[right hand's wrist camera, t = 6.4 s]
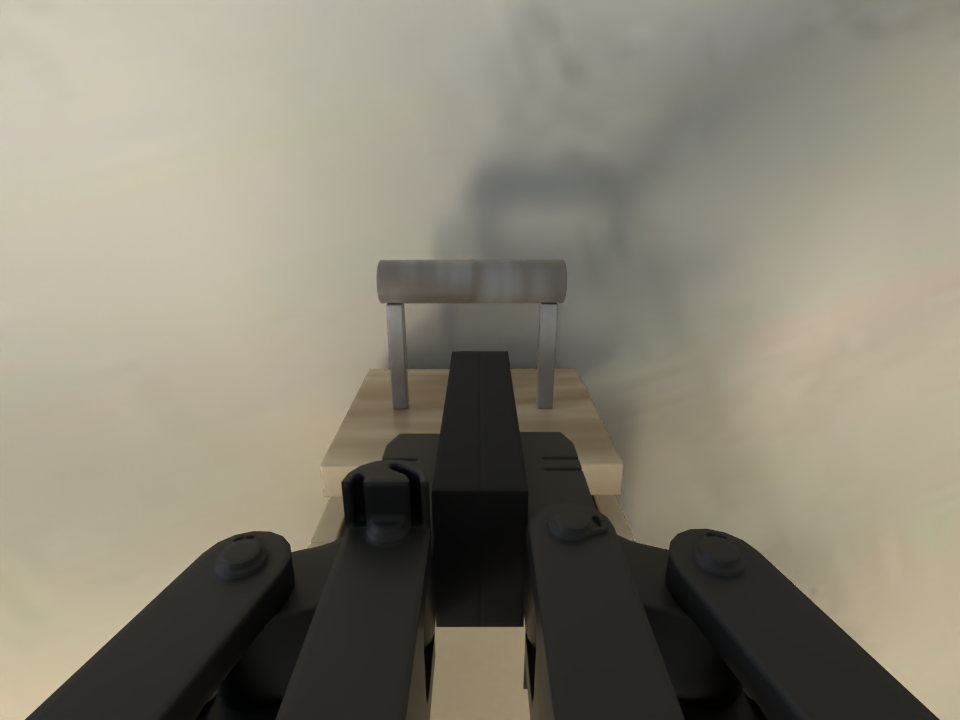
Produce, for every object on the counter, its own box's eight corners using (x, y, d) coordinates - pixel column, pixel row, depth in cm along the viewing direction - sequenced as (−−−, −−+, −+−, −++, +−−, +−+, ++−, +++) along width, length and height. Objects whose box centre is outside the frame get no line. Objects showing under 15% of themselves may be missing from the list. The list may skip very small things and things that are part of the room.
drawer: (359, 244, 23) (297, 286, 15) (583, 244, 23) (643, 285, 15) (391, 665, 32) (363, 839, 23) (556, 663, 32) (585, 836, 23)
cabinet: (364, 415, 27) (301, 560, 17) (580, 414, 27) (642, 557, 17) (388, 700, 34) (352, 921, 24) (560, 698, 34) (596, 918, 24)
